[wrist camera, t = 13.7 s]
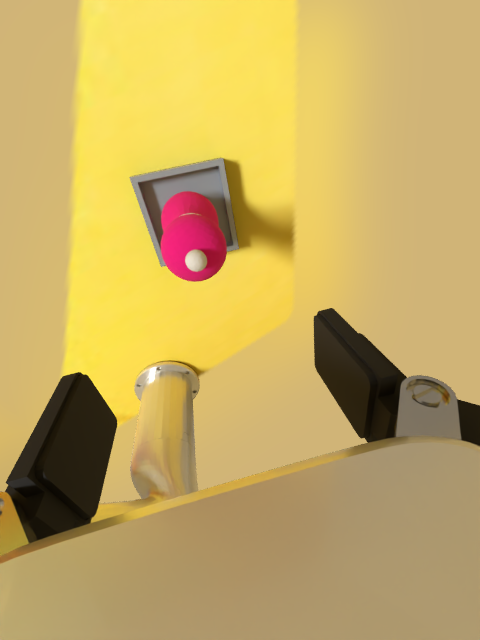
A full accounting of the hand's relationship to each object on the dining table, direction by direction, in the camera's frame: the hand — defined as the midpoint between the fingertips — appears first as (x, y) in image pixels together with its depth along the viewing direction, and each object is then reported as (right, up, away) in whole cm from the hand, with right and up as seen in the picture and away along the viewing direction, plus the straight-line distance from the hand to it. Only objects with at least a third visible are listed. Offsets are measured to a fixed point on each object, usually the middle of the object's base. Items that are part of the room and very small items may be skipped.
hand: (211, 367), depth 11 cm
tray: (-6, +17, +27) cm, 33 cm away
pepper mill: (-6, +17, +27) cm, 32 cm away
